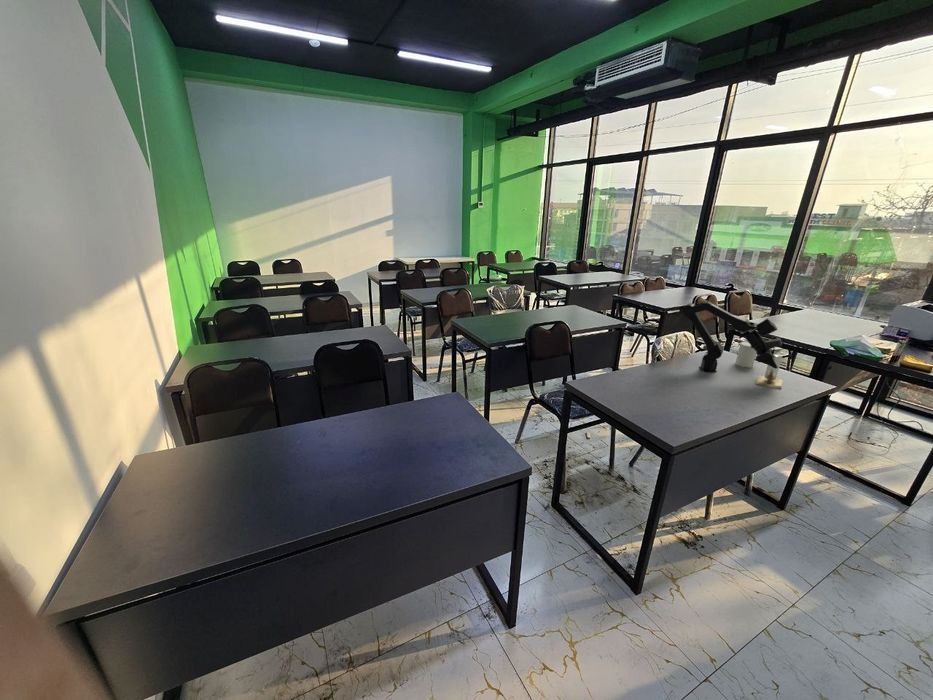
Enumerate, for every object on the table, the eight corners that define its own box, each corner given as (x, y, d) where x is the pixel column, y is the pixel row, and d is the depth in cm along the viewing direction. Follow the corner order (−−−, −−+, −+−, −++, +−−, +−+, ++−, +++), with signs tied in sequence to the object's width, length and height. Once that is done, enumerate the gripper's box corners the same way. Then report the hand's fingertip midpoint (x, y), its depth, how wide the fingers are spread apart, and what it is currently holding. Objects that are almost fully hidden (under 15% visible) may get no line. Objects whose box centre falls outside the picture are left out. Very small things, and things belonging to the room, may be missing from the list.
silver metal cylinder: (767, 379, 195) (774, 357, 190) (762, 376, 199) (768, 353, 195) (777, 380, 194) (784, 357, 190) (771, 376, 198) (778, 354, 194)
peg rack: (755, 383, 197) (758, 373, 195) (757, 377, 204) (760, 368, 202) (780, 389, 191) (783, 379, 189) (782, 382, 198) (784, 372, 196)
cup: (756, 367, 217) (761, 346, 213) (741, 367, 217) (746, 346, 213) (746, 362, 224) (751, 342, 220) (732, 361, 224) (737, 341, 220)
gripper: (771, 336, 184) (794, 364, 181) (774, 327, 198) (795, 353, 195) (747, 348, 192) (768, 375, 189) (751, 339, 205) (771, 364, 202)
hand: (777, 366), depth 193 cm, fingers closed on silver metal cylinder, 4 cm apart
